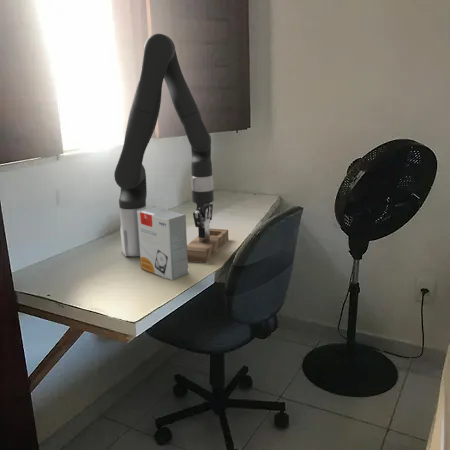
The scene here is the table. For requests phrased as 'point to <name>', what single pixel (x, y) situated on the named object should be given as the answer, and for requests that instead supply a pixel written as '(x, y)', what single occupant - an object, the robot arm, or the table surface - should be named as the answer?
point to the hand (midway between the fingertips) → (204, 235)
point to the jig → (206, 246)
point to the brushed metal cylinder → (206, 232)
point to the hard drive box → (163, 242)
